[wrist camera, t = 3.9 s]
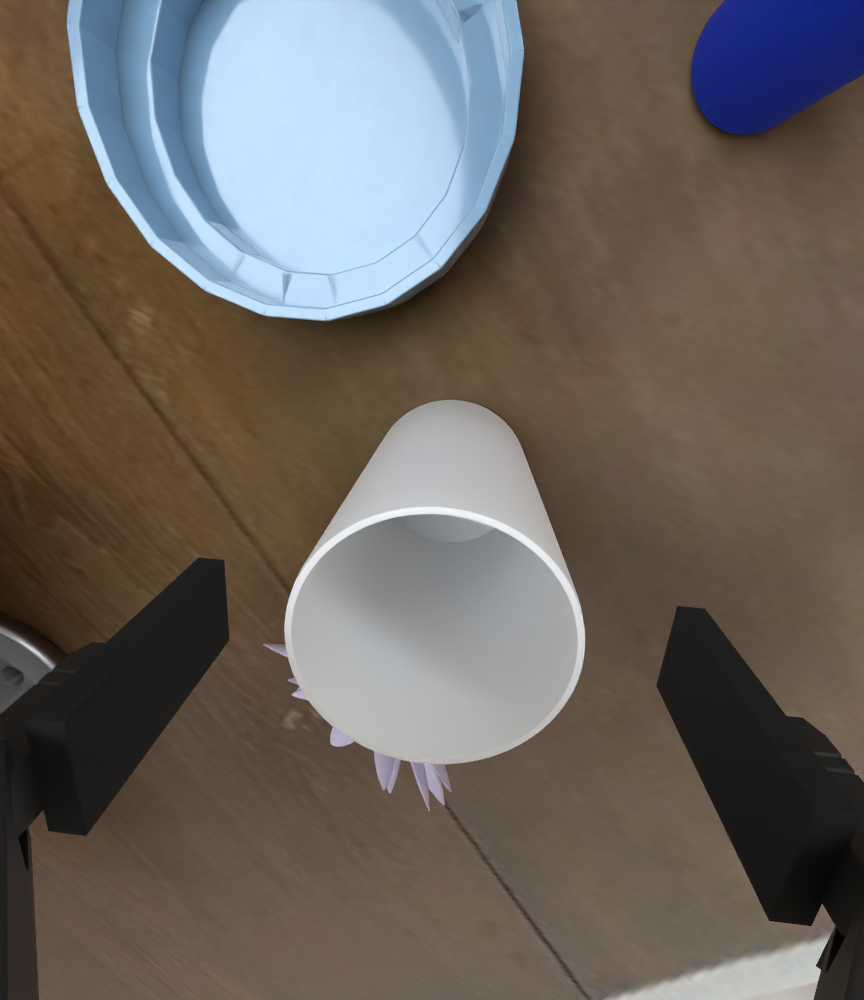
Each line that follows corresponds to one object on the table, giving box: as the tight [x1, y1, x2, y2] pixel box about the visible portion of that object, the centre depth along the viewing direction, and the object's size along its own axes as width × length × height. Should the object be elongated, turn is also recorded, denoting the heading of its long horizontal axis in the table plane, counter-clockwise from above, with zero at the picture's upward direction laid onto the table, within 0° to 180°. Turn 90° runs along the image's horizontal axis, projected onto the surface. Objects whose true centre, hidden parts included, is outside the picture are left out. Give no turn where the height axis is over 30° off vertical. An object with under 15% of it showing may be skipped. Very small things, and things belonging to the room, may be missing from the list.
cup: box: [284, 400, 585, 764], centre depth 22 cm, size 8×8×16 cm
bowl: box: [67, 0, 524, 321], centre depth 22 cm, size 17×17×5 cm
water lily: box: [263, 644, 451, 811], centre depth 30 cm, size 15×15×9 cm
